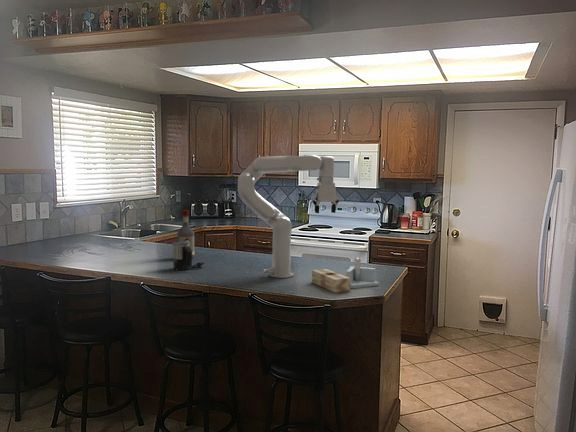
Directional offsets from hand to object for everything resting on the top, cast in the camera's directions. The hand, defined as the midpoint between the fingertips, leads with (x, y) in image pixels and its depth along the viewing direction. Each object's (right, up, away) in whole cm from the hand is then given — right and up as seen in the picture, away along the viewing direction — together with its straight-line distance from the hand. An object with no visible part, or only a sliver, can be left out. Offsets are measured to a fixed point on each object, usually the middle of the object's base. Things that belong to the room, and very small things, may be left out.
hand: (325, 212), depth 251 cm
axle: (+14, -33, -16) cm, 40 cm away
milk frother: (-75, -31, +16) cm, 83 cm away
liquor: (-82, -28, +44) cm, 97 cm away
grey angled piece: (+15, -35, -17) cm, 42 cm away
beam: (+1, -35, -22) cm, 42 cm away
